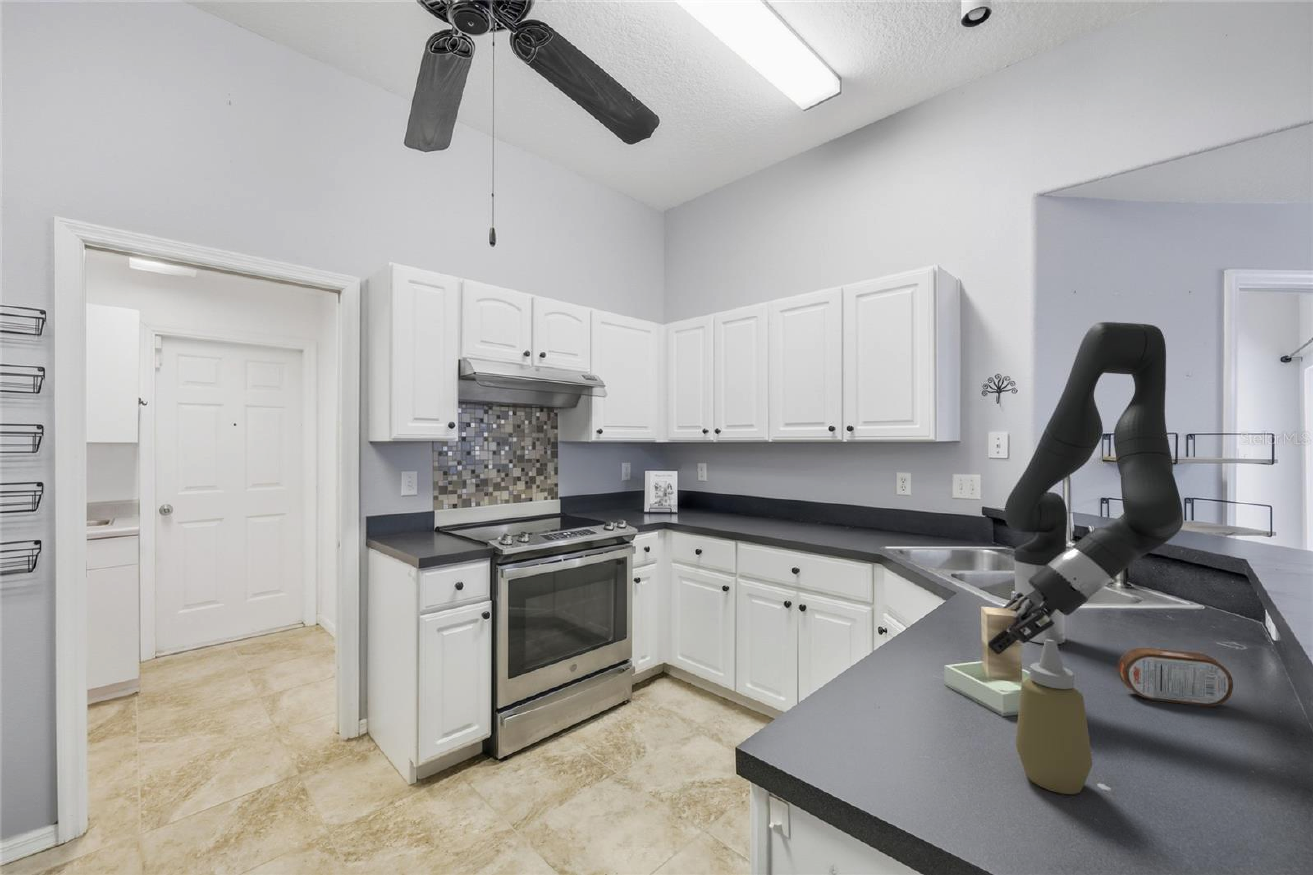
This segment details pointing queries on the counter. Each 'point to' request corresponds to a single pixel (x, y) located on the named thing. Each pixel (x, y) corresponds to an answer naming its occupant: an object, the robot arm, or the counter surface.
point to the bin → (985, 687)
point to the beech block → (1010, 659)
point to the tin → (1175, 676)
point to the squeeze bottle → (1053, 726)
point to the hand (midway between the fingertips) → (989, 644)
